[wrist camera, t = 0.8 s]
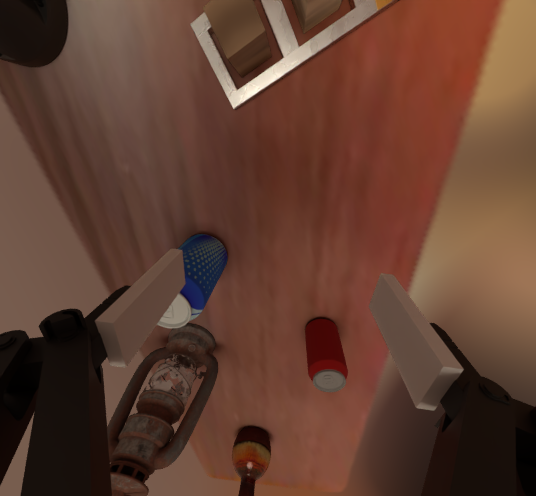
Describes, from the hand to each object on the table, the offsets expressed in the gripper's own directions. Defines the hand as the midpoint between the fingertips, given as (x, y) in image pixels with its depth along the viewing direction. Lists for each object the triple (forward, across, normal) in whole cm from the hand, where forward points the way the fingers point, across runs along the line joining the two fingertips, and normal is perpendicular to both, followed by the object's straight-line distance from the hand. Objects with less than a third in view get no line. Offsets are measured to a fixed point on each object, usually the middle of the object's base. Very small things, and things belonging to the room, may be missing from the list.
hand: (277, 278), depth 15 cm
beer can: (+24, -13, -12) cm, 30 cm away
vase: (+24, -1, -73) cm, 77 cm away
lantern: (+24, -18, -37) cm, 47 cm away
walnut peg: (+24, -7, +18) cm, 31 cm away
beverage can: (+24, +11, -27) cm, 38 cm away
